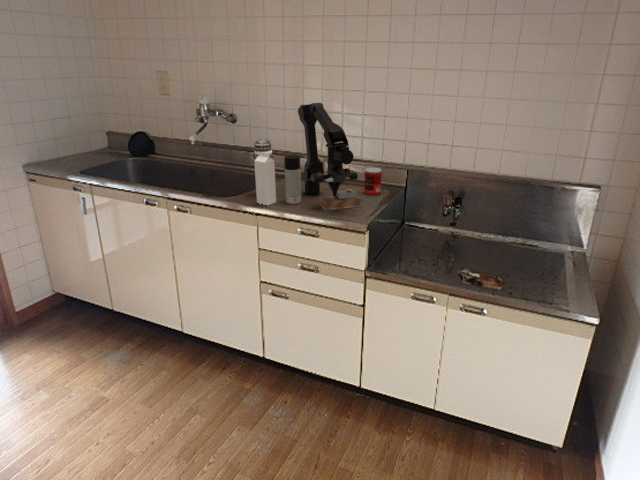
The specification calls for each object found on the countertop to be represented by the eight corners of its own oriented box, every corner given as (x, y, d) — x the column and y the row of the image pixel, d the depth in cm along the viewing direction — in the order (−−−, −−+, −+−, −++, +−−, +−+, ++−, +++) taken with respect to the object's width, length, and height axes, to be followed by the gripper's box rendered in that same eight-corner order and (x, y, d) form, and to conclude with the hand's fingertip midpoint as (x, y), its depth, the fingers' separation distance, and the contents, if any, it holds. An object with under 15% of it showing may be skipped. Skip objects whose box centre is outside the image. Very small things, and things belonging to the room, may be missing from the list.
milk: (266, 200, 205) (263, 150, 197) (276, 202, 202) (274, 152, 193) (256, 203, 201) (253, 152, 192) (267, 206, 197) (264, 154, 189)
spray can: (303, 200, 204) (302, 155, 197) (297, 204, 198) (296, 158, 191) (289, 198, 206) (287, 154, 199) (283, 203, 200) (281, 157, 193)
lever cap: (338, 199, 193) (338, 192, 192) (334, 196, 197) (334, 189, 196) (356, 197, 195) (356, 190, 194) (352, 194, 199) (352, 187, 198)
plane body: (324, 210, 191) (324, 202, 190) (319, 204, 198) (319, 197, 197) (361, 206, 196) (362, 198, 194) (355, 201, 202) (355, 193, 201)
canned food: (380, 190, 217) (381, 167, 212) (381, 195, 209) (382, 171, 205) (364, 190, 217) (364, 167, 213) (363, 195, 210) (364, 171, 206)
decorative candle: (251, 196, 211) (247, 140, 201) (262, 190, 218) (259, 137, 209) (268, 198, 207) (265, 142, 197) (279, 193, 214) (276, 138, 205)
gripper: (318, 165, 179) (318, 204, 185) (363, 162, 184) (361, 199, 190) (310, 159, 189) (310, 196, 195) (353, 156, 194) (352, 192, 200)
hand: (334, 196), depth 194 cm, fingers closed
